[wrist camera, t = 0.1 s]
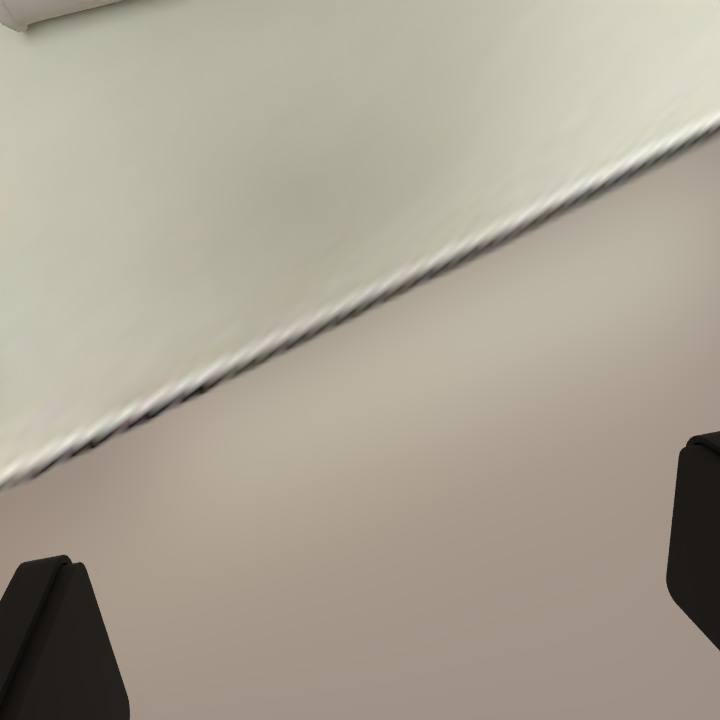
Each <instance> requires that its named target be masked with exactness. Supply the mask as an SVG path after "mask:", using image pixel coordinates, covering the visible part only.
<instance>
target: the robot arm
mask: <svg viewBox="0 0 720 720" xmlns="http://www.w3.org/2000/svg"><path fill="white" fill-rule="evenodd" d="M666 582H667V587H668V590H669V593H670V595H671V597H672V598H673V600H674V601H675V602H676V604H677V605H678V606H679V607H680V608H681V609H682V610H683V611H684V612H685V613H686V615H687V616H688V617H689V618H690V619H691V620H692V621H693V622H694V623H695V624H696V625H697V627H698V628H699V629H700V630H701V631H702V632H703V633H704V634H705V635H706V636H707V637H708V638H709V639H710V641H711V642H712V643H713V644H714V645H715V646H716V647H717V648H718V649H719V650H720V431H718V432H713V433H708V434H703V435H697V436H694V437H692V438H690V439H689V441H688V442H687V445H686V447H684V448H683V449H682V450H681V451H680V454H679V461H678V469H677V479H676V489H675V498H674V508H673V517H672V527H671V537H670V546H669V556H668V566H667V575H666ZM129 719H130V708H129V700H128V696H127V693H126V690H125V687H124V684H123V680H122V677H121V675H120V671H119V668H118V665H117V662H116V659H115V656H114V653H113V650H112V647H111V644H110V641H109V637H108V634H107V631H106V628H105V625H104V623H103V619H102V616H101V613H100V610H99V607H98V604H97V601H96V598H95V594H94V591H93V588H92V585H91V582H90V579H89V576H88V573H87V570H86V568H85V566H84V564H83V563H81V562H79V563H73V564H72V562H71V560H70V558H69V557H68V556H66V555H60V556H55V557H50V558H44V559H39V560H33V561H28V562H24V563H22V564H20V565H19V567H18V568H17V570H16V572H15V574H14V576H13V578H12V579H11V581H10V583H9V585H8V587H7V589H6V591H5V593H4V595H3V597H2V599H1V601H0V720H129Z"/></svg>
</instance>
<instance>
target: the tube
mask: <svg viewBox="0 0 720 720" xmlns="http://www.w3.org/2000/svg"><path fill="white" fill-rule="evenodd" d="M118 1H122V0H0V22H1V23H2V25H4V26H7V27H9V28H11V29H13V30H15V31H17V32H22V31H25V30H28V25H29V24H32V23H34V22H38V21H42V20H46V19H50V18H54V17H58V16H62V15H66V14H70V13H74V12H78V11H82V10H86V9H90V8H94V7H98V6H102V5H106V4H110V3H114V2H118Z"/></svg>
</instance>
